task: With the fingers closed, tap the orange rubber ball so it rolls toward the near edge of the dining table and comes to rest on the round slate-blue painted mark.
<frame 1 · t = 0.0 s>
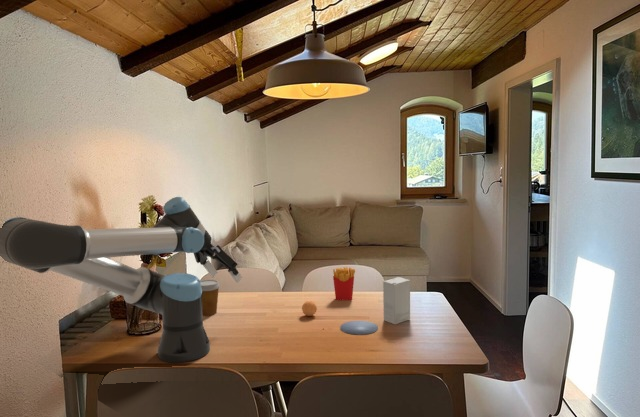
hand: (226, 277, 169), 15 cm above the table, tool tilted 35°, fingers open, 13 cm apart
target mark: (359, 327, 158), on the table
disposable coffee cup: (208, 313, 176), on the table
skincare box: (396, 320, 164), on the table
ball: (309, 308, 171), on the table
french fries: (344, 299, 191), on the table
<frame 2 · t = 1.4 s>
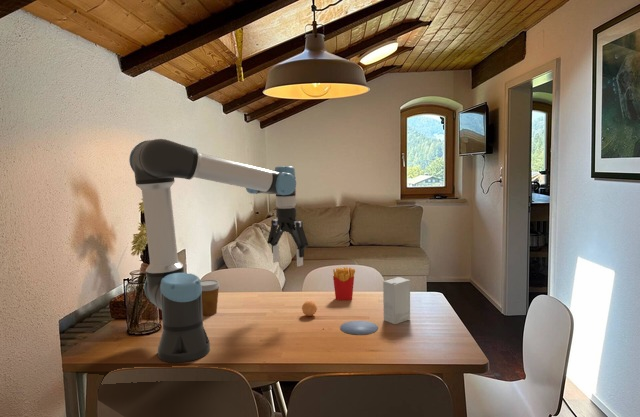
hand: (287, 263, 175), 18 cm above the table, tool pointing down, fingers open, 11 cm apart
nothing on the table moved.
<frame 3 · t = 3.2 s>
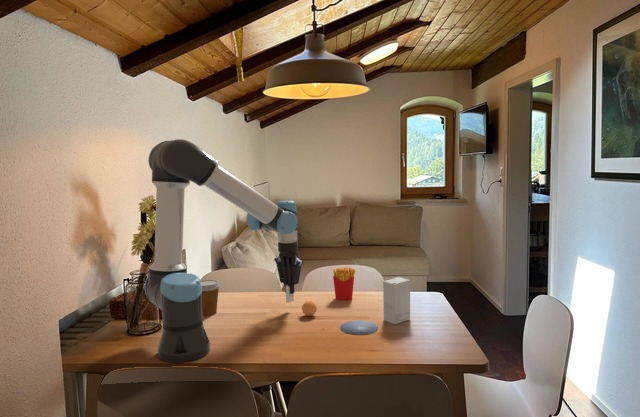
hand: (290, 301, 177), 4 cm above the table, tool pointing down, fingers closed
nothing on the table moved.
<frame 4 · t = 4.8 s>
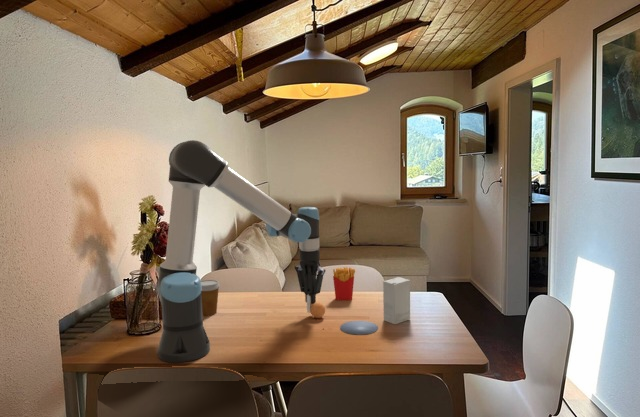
hand: (310, 311, 171), 2 cm above the table, tool pointing down, fingers closed
ball: (317, 310, 169), on the table, touching gripper
everything else where it was.
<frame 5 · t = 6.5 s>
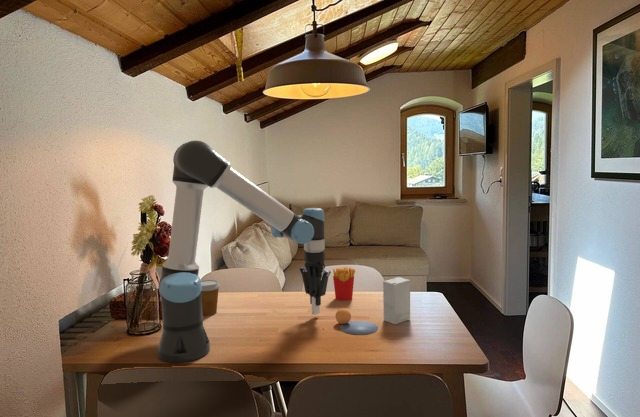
hand: (315, 313, 169), 1 cm above the table, tool pointing down, fingers closed
ball: (343, 316, 162), on the table
everything else where it was.
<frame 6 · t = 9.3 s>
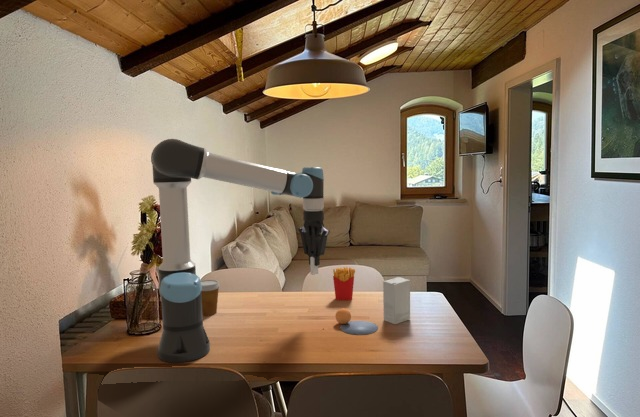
hand: (314, 273, 168), 16 cm above the table, tool pointing down, fingers closed
nothing on the table moved.
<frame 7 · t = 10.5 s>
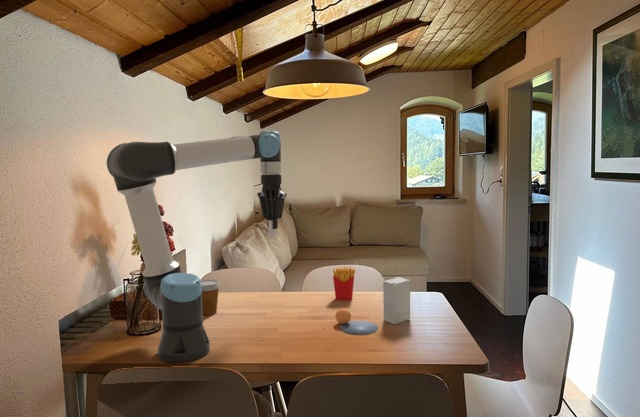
hand: (272, 237, 171), 29 cm above the table, tool pointing down, fingers closed
nothing on the table moved.
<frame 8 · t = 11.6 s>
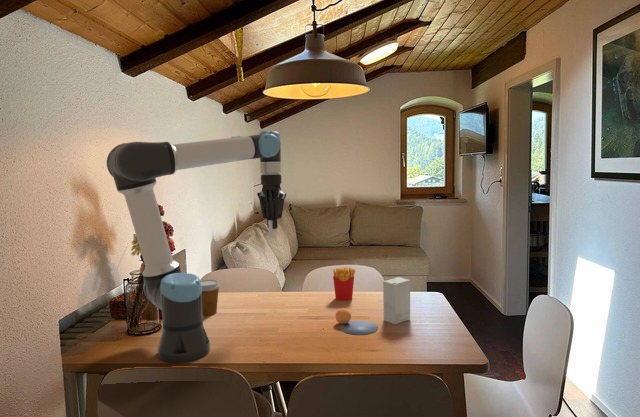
hand: (272, 237, 171), 29 cm above the table, tool pointing down, fingers closed
nothing on the table moved.
at the end: ball 6.7 cm from the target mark (horizontally); ball at rest at the end (0.0 cm/s); ball moved 15.3 cm from its start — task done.
